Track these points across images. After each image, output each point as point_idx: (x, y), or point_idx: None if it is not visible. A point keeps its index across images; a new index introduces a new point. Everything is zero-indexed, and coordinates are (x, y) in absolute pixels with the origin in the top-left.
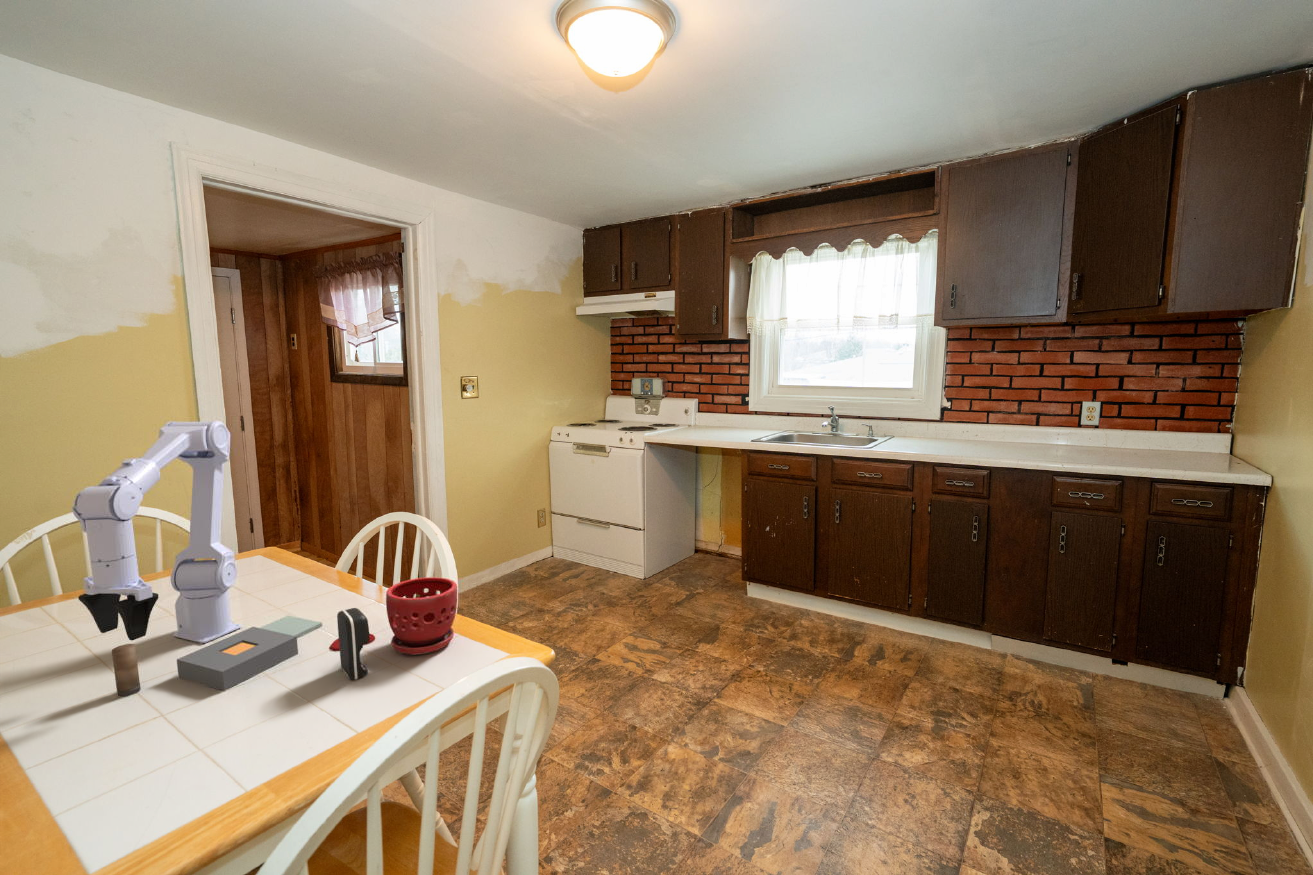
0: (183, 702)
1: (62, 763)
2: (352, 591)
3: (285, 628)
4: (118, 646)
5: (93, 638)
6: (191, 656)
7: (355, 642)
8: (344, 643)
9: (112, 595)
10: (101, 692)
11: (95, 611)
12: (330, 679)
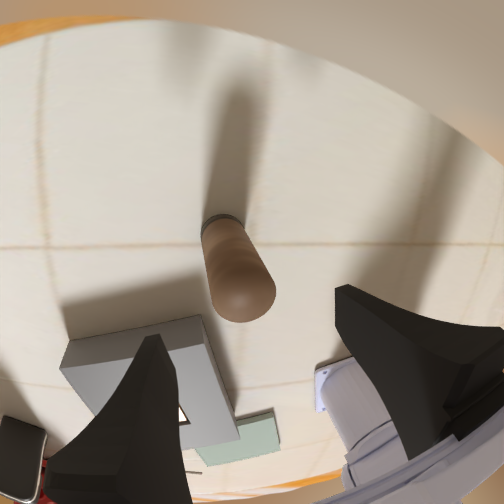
0: (73, 287)
1: (13, 83)
2: (285, 483)
3: (234, 445)
4: (273, 288)
5: (482, 258)
6: (192, 363)
7: None
8: (7, 457)
9: (411, 427)
10: (278, 198)
11: (397, 338)
12: (20, 410)
